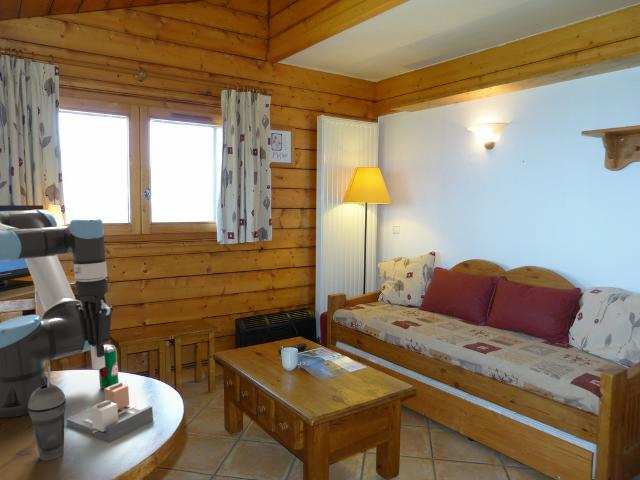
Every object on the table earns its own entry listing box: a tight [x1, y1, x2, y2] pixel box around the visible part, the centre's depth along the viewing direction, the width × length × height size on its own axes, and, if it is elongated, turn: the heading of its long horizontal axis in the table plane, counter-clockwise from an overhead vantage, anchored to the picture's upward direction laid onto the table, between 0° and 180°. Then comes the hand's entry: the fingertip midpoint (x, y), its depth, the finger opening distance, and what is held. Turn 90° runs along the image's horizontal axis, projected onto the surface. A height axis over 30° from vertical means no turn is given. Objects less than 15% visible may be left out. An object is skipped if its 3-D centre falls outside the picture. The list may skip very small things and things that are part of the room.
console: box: [66, 405, 154, 443], centre depth 119 cm, size 17×14×4 cm
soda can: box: [98, 344, 120, 390], centre depth 141 cm, size 5×5×12 cm
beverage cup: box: [28, 365, 67, 462], centre depth 104 cm, size 7×7×20 cm
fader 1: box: [103, 382, 130, 410], centre depth 124 cm, size 4×4×6 cm
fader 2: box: [90, 400, 118, 432], centre depth 113 cm, size 4×4×6 cm
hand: (98, 368), depth 126 cm, fingers closed
